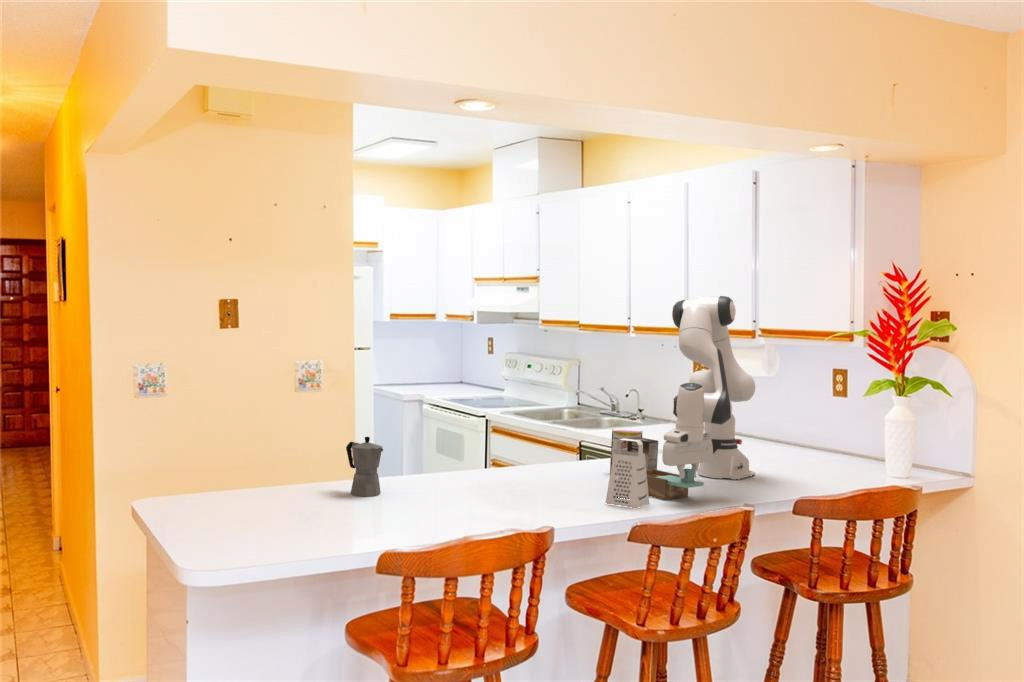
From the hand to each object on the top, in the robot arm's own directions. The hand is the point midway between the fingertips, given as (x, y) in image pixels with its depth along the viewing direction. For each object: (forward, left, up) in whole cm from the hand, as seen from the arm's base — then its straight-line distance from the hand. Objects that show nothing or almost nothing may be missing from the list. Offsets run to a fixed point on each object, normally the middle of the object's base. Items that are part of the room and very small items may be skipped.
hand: (687, 477), depth 289 cm
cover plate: (0, -4, -2) cm, 5 cm away
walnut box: (0, -12, -8) cm, 14 cm away
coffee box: (-5, -25, -8) cm, 27 cm away
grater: (+20, -6, -8) cm, 22 cm away
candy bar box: (-14, -42, -8) cm, 45 cm away
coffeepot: (+85, -57, -8) cm, 103 cm away
